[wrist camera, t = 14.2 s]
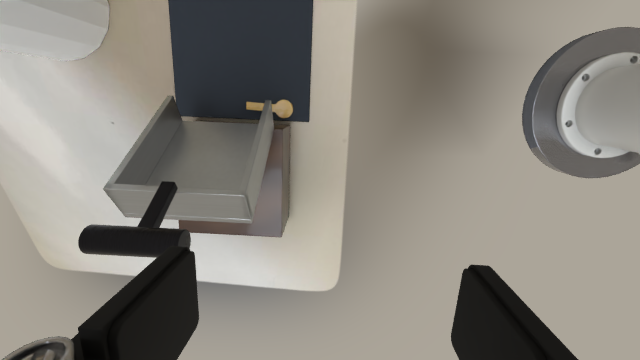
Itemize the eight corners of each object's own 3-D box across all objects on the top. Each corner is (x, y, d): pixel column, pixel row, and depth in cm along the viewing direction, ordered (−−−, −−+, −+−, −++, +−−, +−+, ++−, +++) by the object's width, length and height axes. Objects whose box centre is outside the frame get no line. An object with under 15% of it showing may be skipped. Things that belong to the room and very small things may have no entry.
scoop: (235, 291, 22) (217, 251, 17) (86, 283, 22) (30, 242, 18) (274, 128, 35) (269, 81, 30) (179, 124, 35) (160, 77, 30)
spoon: (293, 100, 40) (293, 100, 40) (292, 118, 41) (292, 119, 40) (247, 96, 40) (246, 96, 40) (246, 114, 41) (246, 114, 40)
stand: (288, 216, 45) (281, 237, 38) (201, 212, 45) (179, 232, 38) (290, 124, 41) (282, 129, 35) (196, 120, 41) (170, 123, 35)
